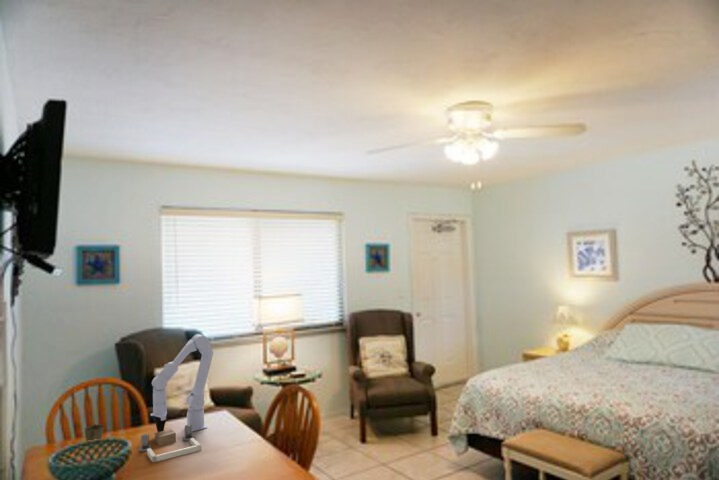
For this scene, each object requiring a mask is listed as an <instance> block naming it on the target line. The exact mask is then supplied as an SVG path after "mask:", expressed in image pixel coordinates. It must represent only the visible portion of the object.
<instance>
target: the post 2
mask: <svg viewBox="0 0 719 480" xmlns="http://www.w3.org/2000/svg"><path fill="white" fill-rule="evenodd" d="M195 437H196V436H195V435H193V431H192V425H191V424H189V425H187V424H186V425H184V436H183V437H182V441H183V442H190V439H191V438H194V439H195ZM195 440H196V439H195Z"/></svg>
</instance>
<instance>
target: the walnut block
mask: <svg viewBox="0 0 719 480" xmlns="http://www.w3.org/2000/svg"><path fill="white" fill-rule="evenodd" d="M176 436H177V434H176V432H175V431H174V430H172V429H171V428H169V429H166V430H164V431H161V432H157V431H156V432H154V443H156V444H157V445H158V446H164V445H167V444H171V443H175V442H177V437H176Z"/></svg>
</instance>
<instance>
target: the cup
mask: <svg viewBox="0 0 719 480" xmlns="http://www.w3.org/2000/svg"><path fill="white" fill-rule="evenodd" d="M103 433H104V424H103V423H102V424H101V425H100V424H99V423H98V424H97V423H95V424H93V425H90V426H86V427H85V428H84V436H85V439H86V441H87V442H88V440H94V439H100V440H101V439H102V437H103V435H104V434H103Z"/></svg>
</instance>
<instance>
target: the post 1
mask: <svg viewBox="0 0 719 480" xmlns="http://www.w3.org/2000/svg"><path fill="white" fill-rule="evenodd" d="M140 438H141V440H140V441H141V447H139V448H138V452H139V451H140V453H145V452H146V453H147V449H149V448H151V449H152V450H153V446H152V445H150V434H148V433H145V434H142V435H140Z"/></svg>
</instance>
